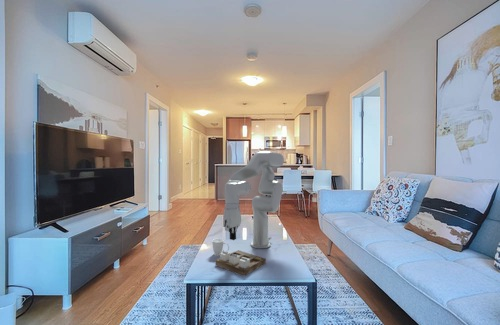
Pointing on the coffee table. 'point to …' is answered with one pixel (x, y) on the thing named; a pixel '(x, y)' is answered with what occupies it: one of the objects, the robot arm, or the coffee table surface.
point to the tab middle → (234, 259)
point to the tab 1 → (224, 256)
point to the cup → (218, 246)
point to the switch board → (254, 263)
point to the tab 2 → (244, 262)
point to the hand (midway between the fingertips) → (232, 239)
